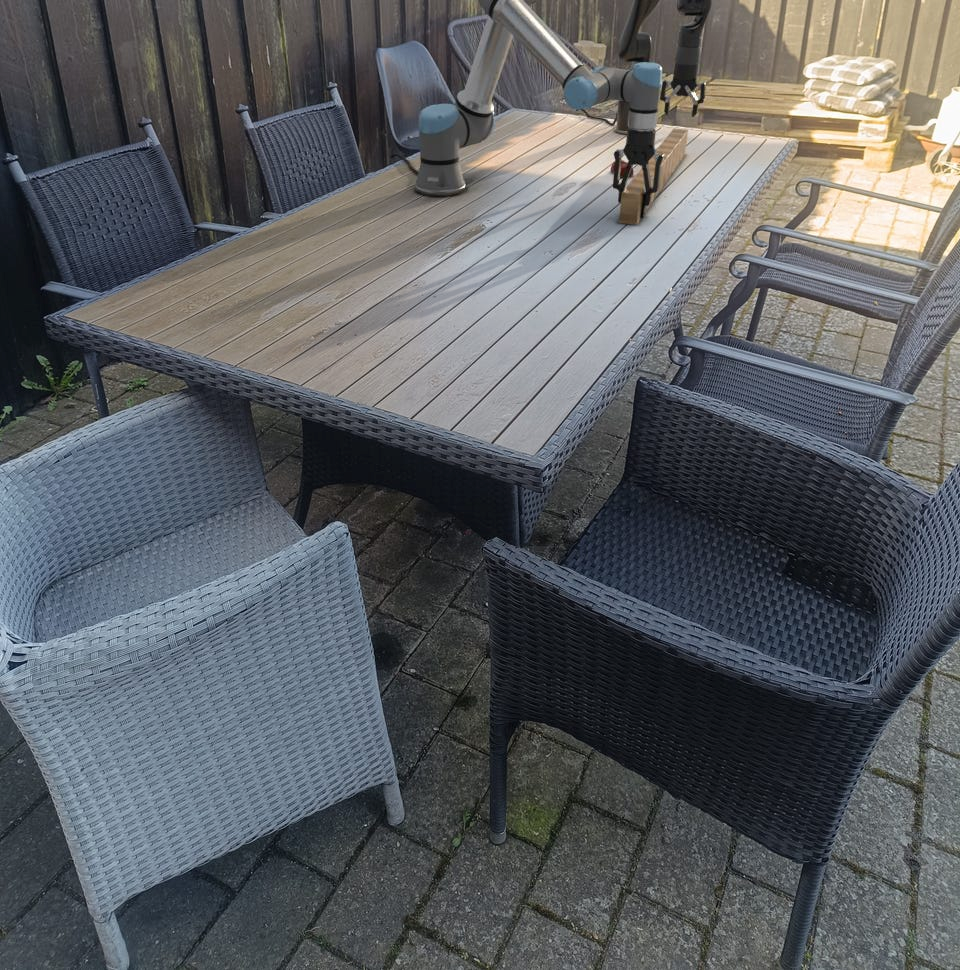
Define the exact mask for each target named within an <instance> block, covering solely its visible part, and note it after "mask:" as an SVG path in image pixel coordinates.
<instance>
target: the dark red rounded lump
mask: <svg viewBox="0 0 960 970" xmlns="http://www.w3.org/2000/svg"><path fill="white" fill-rule="evenodd" d="M627 164H628V161H625V160H623V159H621V169H620V177H623V176H624V173H625V170H626V167H627ZM614 168H615V161H613V162H612V163H611V166H610V173H614ZM631 176H632V177H633V176H634V169H633V168H632V169H631V172H630V175H629V177H631Z"/></svg>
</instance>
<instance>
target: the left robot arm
mask: <svg viewBox="0 0 960 970" xmlns="http://www.w3.org/2000/svg"><path fill="white" fill-rule="evenodd" d="M538 1H539V0H477V2H478V4H479V5H480V7H481V8H482V9H483V11H484V12H485V14H486V15H487V19H486V21H485V25H484V28H483V31H482V33H481V37H480V40H479V44H478V45H477V50H476V53H475V55H474V58H473V61H472V65H471V68H470V72H469V74H468V78H467V81H466V83H465V87H464V89H463V90H461V91H459V92H458V93H457V95H456V98H455V100H454V101H455V102H454V104H453V103H452V104H451V103H438V104H431V105H428V106H426V107H424V108H423V109H422V110H421V111H420V112H419V114H418V115H419V116H418V126H417V127H418V137H419V138H418V139H419V157H420V158H419V159H420V161H419V162H420V164H419V168H418V170H417V169H416V168H414V166H412V164H411V162H410V160H408V159H407V158H405V157H404V156H403V155H401V154H399V153H392V154H391V155H390V158H392V159H393V158H394V157H398V158H399V159H401V160H402V161H404V162H406V164H407V165H408V167H409V169H411V171H413V172H414V173H415V174H417V176H416V180H415V183H414V184H415V185H414V186H415V192H417V193H418V194H420V195H424V196H430V197H450V196H455V195H459V194H461V193H463V192H464V191H466V181H465V179H464V176H463V172H462V169H461V165H460V149H463V148H467V147H470V146H473V145H478V144H480V143H482V142H484V141H486V140H487V139H488V138H489V137H490V136H491V135H492V134H493V132H494V129H495V126H496V118H495V112H494V111H495V106H494V103H493V101H492V100H493V97H494V94H495V91H496V89H497V86H498V83H499V81H500V77H501V74H502V71H503V69H504V66H505V63H506V61H507V58H508V55H509V51H510V49H511V46H512V43H513V41H514V38H515V40H516V41H518V43H519V44H520V45H521V46H522V47H523V48H524V49H525V50H526V51H527V52H528V53H529V54H530V55H531V56H532V57H533V58H534V60H536V62H537V63H538V64H539V65H540V66H541V67H542V68H543V69H544V70H545V71H546V72H547V73H548V74H549V75H550V77H551V78H552V79H553V80H554V81H555V82H556V83H557V84H558V85H559V86H560V87H561V89H563V98H564V100H565V103H566V105H567V106H568V108H571V109H572V110H575V111H576V110H578V111H581V110H580V109H584V110H587V109H589V108H592V107H594V106H598V105H600V104H604V103H607V102H611V101H625V102H630V108H629V117H628V126H629V127H630V128H628V129H627V134H626V139H625V140H626V141H625V146H624V147H623V148H620V149H616V150H615V151H614V152H613V157H614V162H615V168H614V172H613V179H612V188H613V189H614V190H617V191H618V198H617V202H618V204H621V196H622V192H623V191H624V189H625V188H626V187H627V186H626V185H627V183H628V180H629V177H630V176H629V175H630V172H631V169H633V166H636V165H638V166H641V168H642V169H643V175H644V182H645V190H646V192H644V194H643V199H642V208H641V217H640V218H641V219H644V218H645V216H646V212H647V211H646V206H649V204H650V200H651V194H652V193H656V192H657V191H658V189H659V181H660V172H661V163H662V160H663V158H664V154H663V153H662V154H660V153H658V152H655V151H656V148H655V141H656V133H657V130H656V129H655V128H657V125H658V115H659V106H660V105H659V104H660V95H661V89H662V83H663V81H662V79H663V67H662V65H660V64H659V63H656V62H649V63H647V62H642V63H636V64H635V65H634V67H633V70H628V69H624V68H616V67H611V66H596V67H595V68H593V70H592V71H590V70H589V69H588V68H587V67H586V66H585V65H584V64H583V62H581V60H580V59H579V58H578V57H577V56H576V55H575V53H573V52H572V51H571V50H570V49H569V48H568V46H566V45H565V43H564V42H563V41H562V40H561V39H560V38H559V37H558V36H557V35H556V34H555V33H554V32H553V30H552V29H550V27H549V26H548V25H547V24H546V22H545V21H543V20H542V19H541V18H540V17H539V15H537V13H536V12H535V11H534V10H533V9H532V8H531V6H532V5H533V4H536V3H537V2H538ZM624 155H625V157H626V159H627V163H628V164H627V167H626V170H625V173H624V176H622V179H621V180H620V178H621V176H620V169H621V160H622V158H623V157H624ZM653 156H654V157H655V159H654V160H655V161H656V164H655V173H654V182H653V187H652V186H651V178H650V171H649V160H650V159H651V158H652V157H653ZM649 207H650V206H649ZM645 211H646V212H645Z"/></svg>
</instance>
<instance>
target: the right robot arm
mask: <svg viewBox="0 0 960 970" xmlns="http://www.w3.org/2000/svg"><path fill="white" fill-rule="evenodd" d="M661 1H662V0H633V1H632V4H631V7H630V9H629V13H628V17H627V19H626V23H625V25H624V28H623V30H622V33H621V35H620V38H619V41H618V48H617V55H618V58H619V60H620V61H621V62H623V63H633V64H632V66H631V67H630V68H628V69H627V70H633V67H634V65H635V64H636V63H642V62H647V63H651V55H652V48H653V47H652V38H651V35H650V34H649V32H640V29H641V27H642V26H643V24H644V22H645V21H646V20H647V19H648V17H650V16H651V14H652V13H653V12H654V10H655V9H656V8H657V7H658V6H659V4H660V3H661ZM712 5H713V0H676V9H677V13H679V14H680V16H682V17H694V18H693V20H692V22H689V23H686V24H682V25H681V27H680V28H679V33H678V41H677V47H676V52H675V58H674V68H673V75H672V79H671V80H668V79H663V81H662V85H661V90H660V97H659V101H661V102H664V109H663V112H664V114H665V116H669V114H670V108H671V100H672V99H673V98H674V96H677V97H685V98H687V97H689V99H690V100H691V101H692V103H693V105H692V110H691V118H694V117H695V116H697V114H698V109H699V105H700V104H703V103H704V102H705V100H706V99H705V98H706V90H707V83H706V82H705V81H703V82H698V81H697V79H698V73H699V72H698V71H699V65H700V58H701V43H702V37H703V31H704V28H705V25H706V23H707V19H708V17H709V14H710V12H711V10H712ZM669 87H671V89H672V91H671V93H670V94H668V96H666V92H667V89H668V88H669ZM696 88H698V91H700V94H699V98H698V97H697V94H696V93H695V91H694V90H695V89H696ZM617 101H618V100H617ZM629 108H630V102H625V101H618V102H617V112H615V118H614V120H613V121H612V122H610V121H609V119H607V118H604V117H599V116H593V115H590V114H589V113H588V111H587V110H586V109H580V110H576V109H575V111H576V112H578V111H582V112H583V113H584V114H585V116H586V117H587V118H589V119H591V120H592V119H593V120H598V121H603V122H606V123H607V124H608V125H609V126H615V132H616V133H618V134H623V135H627V129H628V128H630V127H629V126H628V117H629Z"/></svg>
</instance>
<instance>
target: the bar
mask: <svg viewBox="0 0 960 970" xmlns="http://www.w3.org/2000/svg"><path fill="white" fill-rule="evenodd" d="M688 134H689V129H686V128H685V129H683V128H673V129H672V130H671V131H670V133H669V134H668V135H666V137H665V139H664V140H662V142H661V143H660V144H659V146H658V147H657V149H655V152H658V153H660V154H662V153H663V154H664V158H663V160H662V163H661V172H660V181H659V189H658V191H657V192H656V193H652V194H651V200H650V204H649V206H646V211H645V213H646V212H647V211H648V209H649V208H650V207H651V205H652V204H653V202H654V200H655V199H656V198H657V196H658V194H660V192H661V190H662V189H663V188H664V186H665V184H666V183H667V182H668V180H669V178H670V177H671V175H672V174H673V173H674V171H675V170H676V169H677V167H678V165H679V164H680V163H681V161H682V160H683V159H684V157H685V155H686V149H687V141H688ZM654 159H655V157H654V156H653V157H652V158H651V159H650V160H649V171H650V178H651V186H652V187H653V182H654V173H655V164H656V161H655V160H654ZM644 192H646V190H645V182H644V175H643V169H642V167H641V169H640V170H639V171H638V172H637V173H636V175H635V176H634V177H633V178H632V180H630V182H629V183H628V184H627V186H625V188H624V191H623V192H622V196H621V203H620V207H619V219H618V223H619V224H625V225H633V226H634V225H635V226H637V225H638V224H639V222H640V221H641V219H642V218H640V217H641V208H642V199H643V194H644Z"/></svg>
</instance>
